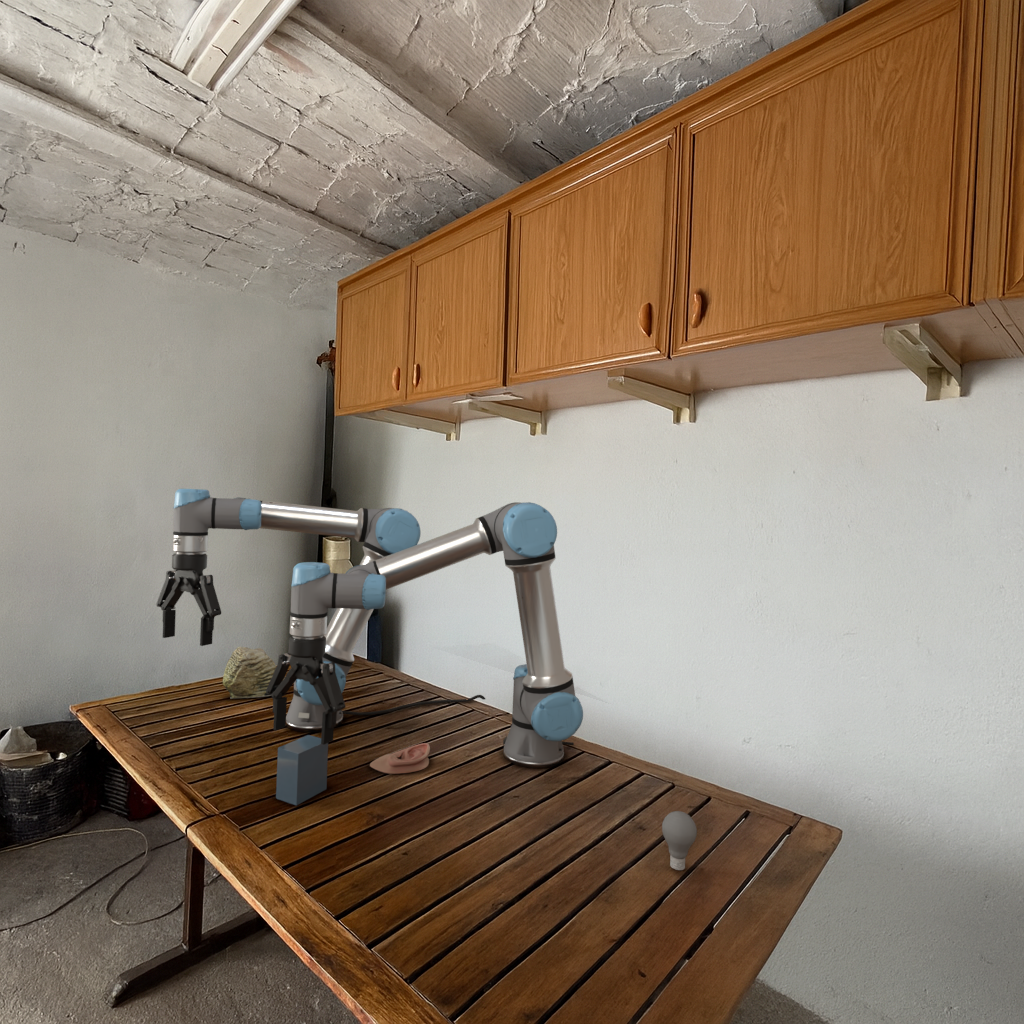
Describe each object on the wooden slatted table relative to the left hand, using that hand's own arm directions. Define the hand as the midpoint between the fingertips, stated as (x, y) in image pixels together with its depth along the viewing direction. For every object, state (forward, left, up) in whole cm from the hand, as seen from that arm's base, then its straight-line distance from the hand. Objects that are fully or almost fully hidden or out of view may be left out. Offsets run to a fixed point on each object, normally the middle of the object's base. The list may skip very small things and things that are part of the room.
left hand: (187, 640), depth 153 cm
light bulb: (-37, +110, -27) cm, 119 cm away
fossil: (-34, -29, -27) cm, 53 cm away
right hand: (-7, +38, -15) cm, 42 cm away
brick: (-7, +39, -27) cm, 48 cm away
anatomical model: (-32, +42, -27) cm, 59 cm away
